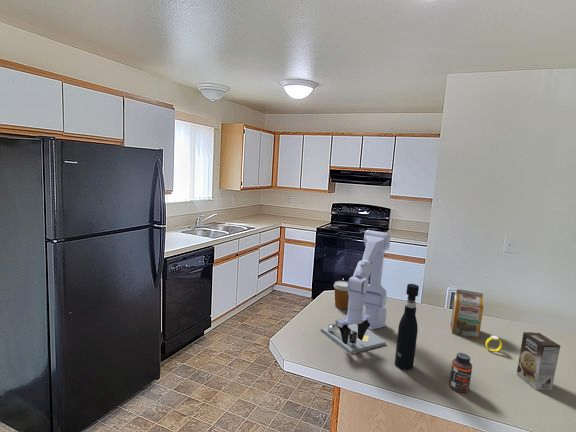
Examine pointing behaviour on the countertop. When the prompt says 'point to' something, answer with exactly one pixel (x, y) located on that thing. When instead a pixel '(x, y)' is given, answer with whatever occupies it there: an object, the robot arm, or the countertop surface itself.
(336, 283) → the disposable coffee cup
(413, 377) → the countertop surface
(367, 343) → the base
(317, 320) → the countertop surface
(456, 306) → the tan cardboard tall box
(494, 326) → the countertop surface
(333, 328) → the lever
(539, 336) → the brown food box
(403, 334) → the black water bottle
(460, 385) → the supplement bottle
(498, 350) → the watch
